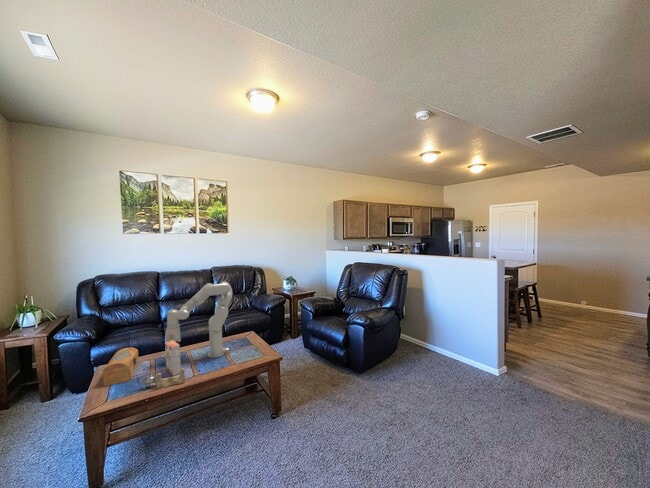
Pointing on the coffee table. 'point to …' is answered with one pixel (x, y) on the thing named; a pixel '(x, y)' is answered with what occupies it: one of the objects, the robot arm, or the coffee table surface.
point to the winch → (148, 380)
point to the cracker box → (173, 357)
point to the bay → (170, 380)
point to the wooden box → (121, 366)
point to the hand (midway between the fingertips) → (173, 349)
